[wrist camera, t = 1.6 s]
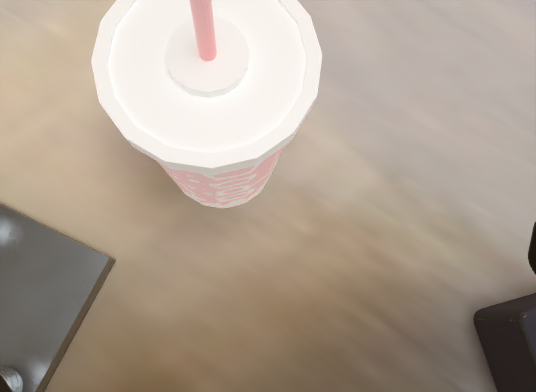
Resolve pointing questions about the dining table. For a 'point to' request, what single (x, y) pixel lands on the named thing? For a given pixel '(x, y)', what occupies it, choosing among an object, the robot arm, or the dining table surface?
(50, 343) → the chassis plate
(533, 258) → the robot arm
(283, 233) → the dining table surface
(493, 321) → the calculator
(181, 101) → the beverage cup
